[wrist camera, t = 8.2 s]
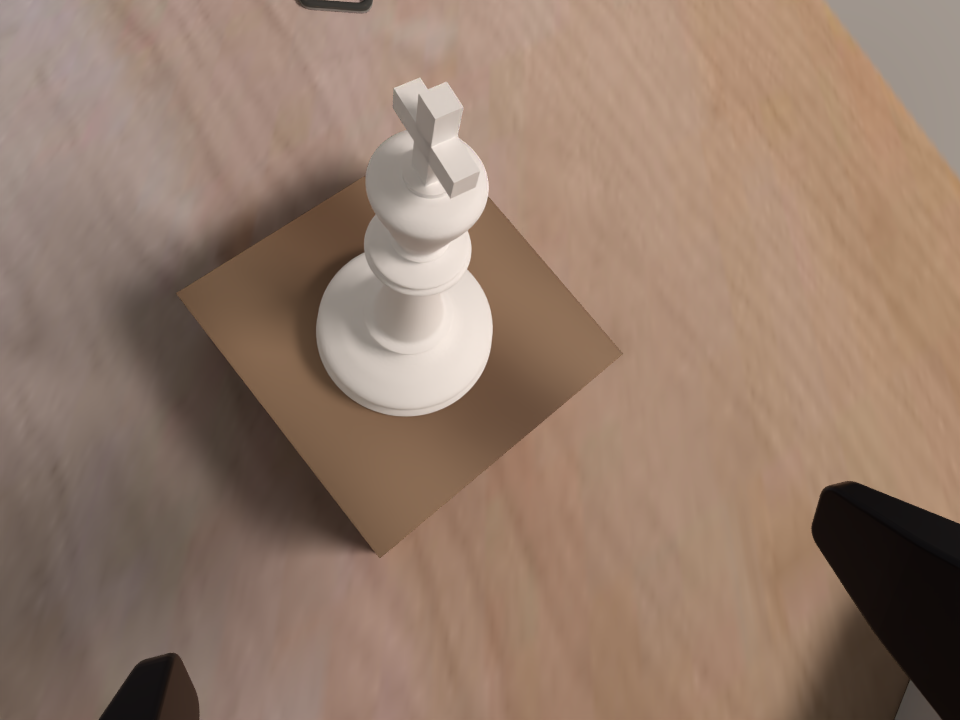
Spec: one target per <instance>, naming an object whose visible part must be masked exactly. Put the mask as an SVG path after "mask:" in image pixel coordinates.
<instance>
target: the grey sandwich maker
mask: <svg viewBox="0 0 960 720" xmlns="http://www.w3.org/2000/svg"><path fill="white" fill-rule="evenodd" d="M299 1H300V3H301V5H302V6H303V7H304V8H306V9H309V10H320V11H334V12H348V13H367V12H368V11H369V10H370V9H371V7H372V3H373V0H364V1H363V2H360V3H354V2H340V1H327V0H299Z"/></svg>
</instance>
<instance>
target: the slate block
mask: <svg viewBox="0 0 960 720" xmlns="http://www.w3.org/2000/svg"><path fill="white" fill-rule="evenodd" d="M895 720H942V719H941V718H940V717H939V716H938V714H937V713H936V712H935V710H934V709H933V708H932V707H931V705H930V704H929V703H928V702H927V700H926V699H925V698H924V696H923V695H922V694H921V693H920V691H919V690H918V689H917V688H916V686H915V685H914V684H913V682H912V681H911V680H910V682H909V684H908V687H907V689H906V692H905V694H904V697H903V699H902V702H901V704H900V707H899V709H898V712H897V715H896V717H895Z"/></svg>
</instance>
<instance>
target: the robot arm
mask: <svg viewBox="0 0 960 720" xmlns="http://www.w3.org/2000/svg"><path fill="white" fill-rule="evenodd" d="M811 529H812V535H813V538H814V541H815V543H816V545H817V546H818V548H819V549H820V551H821V552H822V554H823V555H824V557H825V558H826V560H827V561H828V563H829V565H830V566H831V568H832V569H833V571H834V572H835V574H836V575H837V577H838V578H839V580H840V581H841V583H842V584H843V586H844V588H845V589H846V591H847V592H848V594H849V595H850V597H851V598H852V600H853V601H854V603H855V604H856V606H857V608H858V609H859V611H860V612H861V614H862V615H863V617H864V618H865V620H866V621H867V623H868V624H869V626H870V627H871V629H872V630H873V631H874V633H875V634H876V636H877V637H878V638H879V640H880V641H881V642H882V644H883V645H884V646H885V648H886V649H887V650H888V652H889V653H890V654H891V656H892V657H893V658H894V659H895V661H896V662H897V663H898V665H899V666H900V667H901V668H902V670H903V671H904V672H905V673H906V675H907V676H908V677H909V679H910V680H911V681H912V682H913V684H914V685H915V686H916V688H917V689H918V690H919V691H920V693H921V694H922V695H923V696H924V698H925V699H926V700H927V702H928V703H929V704H930V705H931V707H932V708H933V709H934V710H935V712H936V713H937V714H938V716H939V717H940V718H941V719H942V720H960V524H959V523H956V522H954V521H951V520H949V519H946V518H944V517H942V516H939V515H937V514H934V513H932V512H929V511H927V510H924V509H922V508H919V507H917V506H914V505H912V504H909V503H907V502H904V501H902V500H899V499H897V498H894V497H892V496H889V495H887V494H884V493H882V492H879V491H877V490H874V489H872V488H869V487H867V486H864V485H862V484H859V483H857V482H853V481H846V482H841V483H837V484H833V485H829V486H827V487H825V488H824V489H823V490H822V492H821V494H820V498H819V501H818V505H817V508H816V512H815V515H814V519H813V522H812V527H811ZM99 720H199V702H198V696H197V693H196V690H195V688H194V686H193V684H192V681H191V679H190V677H189V675H188V673H187V671H186V668H185V666H184V664H183V662H182V660H181V658H180V657H179V655H177V654H176V653H168V654H164V655H160V656H156V657H152V658H148V659H145V660H142V661H141V662H139V663H138V664H137V665H136V666H135V667H134V669H133V670H132V671H131V673H130V674H129V676H128V677H127V679H126V680H125V682H124V683H123V685H122V686H121V687H120V689H119V690H118V692H117V693H116V695H115V696H114V698H113V699H112V701H111V702H110V704H109V705H108V707H107V708H106V709H105V711H104V712H103V714H102V715H101V717H100V718H99Z"/></svg>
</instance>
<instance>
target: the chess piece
mask: <svg viewBox="0 0 960 720" xmlns="http://www.w3.org/2000/svg"><path fill="white" fill-rule="evenodd" d="M393 109H394V110H395V112H396V114H397V115H398V117H399V118H400V120H401V121H402V123H403V125H404V126H405V128H406V129H407V130H405V131H402V132H399V133H397V134H395V135H393V136H391V137H390V138H388V139H387V140H385V141H384V142H383V143H382V144H381V145H380V146H379V147H378V148H377V149H376V151H375V152H374V154H373V155H372V157H371V159H370V161H369V164H368V167H367V171H366V182H365V183H366V192H367V196H368V199H369V202H370V204H371V207H372V209H373V210H374V212H375V216H374V217H373V218H372V220H371V221H370V223H369V225H368V227H367V230H366V233H365V238H364V253H362V254H360V255H358V256H357V257H355V258H353V259H352V260H351V261H349V262H348V263H347V264H346V265H344V266H343V267H342V268H341V269H340V270H339V271H338V272H337V274H336V275H335V276H334V277H333V279H332V280H331V281H330V283H329V285H328V286H327V288H326V290H325V292H324V294H323V297H322V300H321V303H320V307H319V311H318V317H317V323H316V339H317V346H318V351H319V354H320V358H321V360H322V363H323V365H324V367H325V369H326V371H327V373H328V374H329V376H330V377H331V379H332V380H333V381H334V383H335V384H336V385H337V386H338V387H339V389H340V390H341V391H343V392H344V393H345V394H346V395H347V396H348V397H350V398H351V399H352V400H354V401H355V402H357V403H358V404H360V405H362V406H364V407H366V408H368V409H370V410H373V411H376V412H379V413H382V414H387V415H392V416H419V415H425V414H429V413H432V412H436V411H438V410H441V409H443V408H445V407H447V406H449V405H451V404H453V403H454V402H456V401H457V400H459V399H460V398H461V397H462V396H464V395H465V394H466V393H467V392H468V391H469V390H470V389H471V388H472V387H473V385H474V384H475V383H476V382H477V380H478V379H479V377H480V376H481V374H482V372H483V370H484V368H485V366H486V363H487V361H488V358H489V354H490V350H491V343H492V333H493V324H492V315H491V310H490V306H489V303H488V300H487V298H486V296H485V293H484V291H483V290H482V288H481V286H480V285H479V283H478V282H477V280H476V279H475V278H474V276H473V275H472V274H471V273H470V272H469V271H468V270H467V268H468V266H469V263H470V259H471V252H472V251H471V240H470V236H469V233H468V230H469V229H470V228H471V227H472V226H473V225H474V224H475V223H476V221H477V220H478V219H479V217H480V216H481V214H482V212H483V210H484V208H485V205H486V203H487V198H488V191H489V185H488V177H487V173H486V170H485V168H484V165H483V163H482V161H481V160H480V158H479V157H478V155H477V154H476V153H475V151H474V150H473V149H472V148H471V147H470V146H469V145H468V144H466V143H465V142H464V141H463V140H461V139H459V137H458V131H459V127H460V122H461V117H462V112H463V106H462V104H461V103H460V101H459V100H458V98H457V96H456V95H455V93H454V92H453V90H452V89H451V87H450V86H449V84H448V83H447V82H445V83H442V84H440V85H437V86H435V87H433V88H430V89H427V87H426V86H425V84H424V83H423V81H422V80H421V78H418V79H415V80H413V81H410V82H408V83H405V84H403V85H400V86H398V87H395V88H394V91H393Z"/></svg>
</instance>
